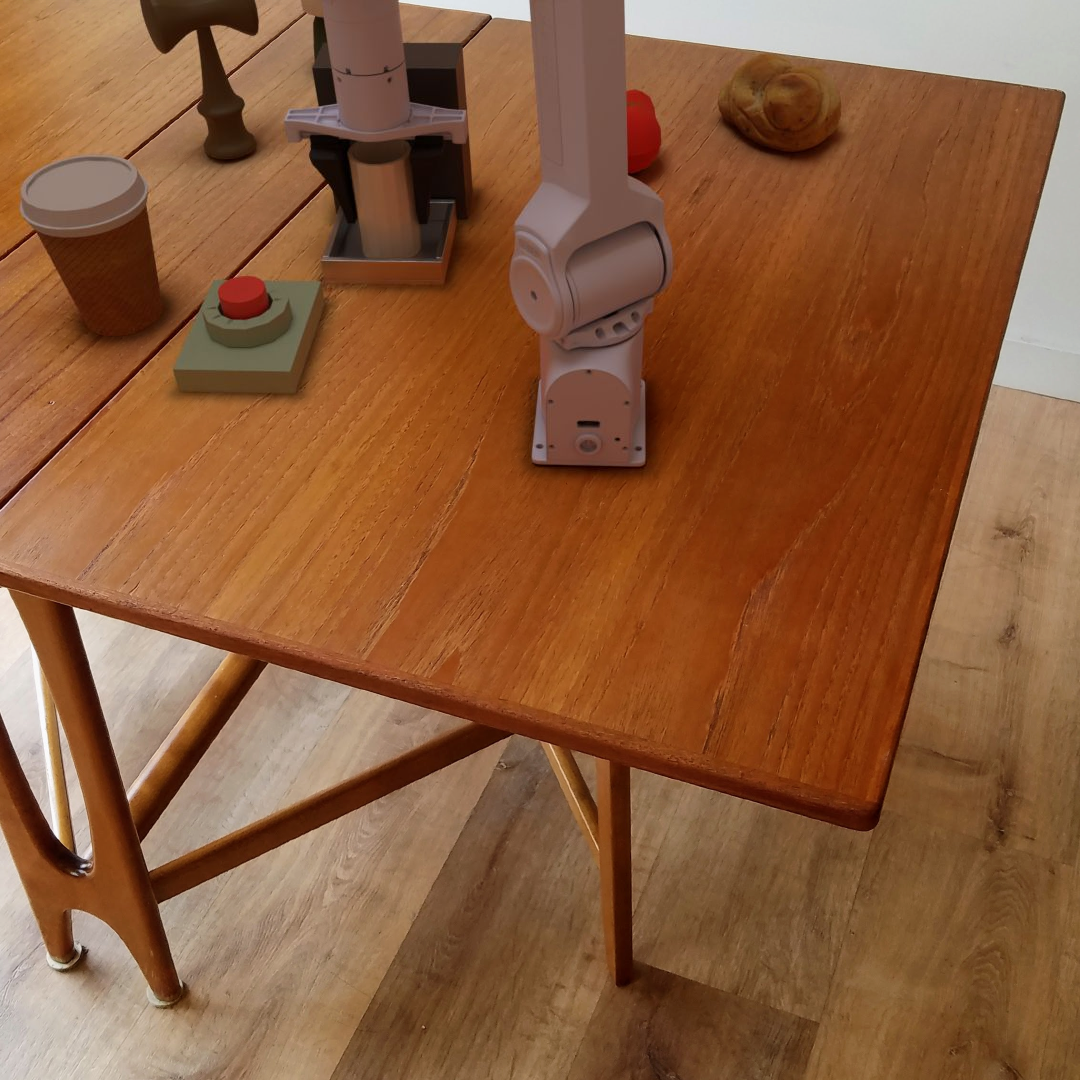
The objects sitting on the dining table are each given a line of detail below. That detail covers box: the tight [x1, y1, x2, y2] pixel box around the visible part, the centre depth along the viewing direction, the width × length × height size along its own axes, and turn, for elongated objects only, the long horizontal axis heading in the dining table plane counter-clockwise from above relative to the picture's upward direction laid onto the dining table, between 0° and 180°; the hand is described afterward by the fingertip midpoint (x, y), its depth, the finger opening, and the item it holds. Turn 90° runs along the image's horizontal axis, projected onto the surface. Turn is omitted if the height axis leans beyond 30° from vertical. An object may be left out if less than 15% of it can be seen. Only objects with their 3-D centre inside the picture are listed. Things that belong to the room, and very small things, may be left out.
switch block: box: [172, 279, 326, 395], centre depth 91 cm, size 12×9×4 cm
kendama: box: [139, 0, 260, 160], centre depth 108 cm, size 6×10×20 cm, turn 120°
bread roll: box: [717, 53, 842, 153], centre depth 112 cm, size 13×10×8 cm
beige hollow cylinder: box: [347, 139, 422, 258], centre depth 98 cm, size 5×5×9 cm
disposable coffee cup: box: [19, 153, 164, 337], centre depth 91 cm, size 10×10×12 cm
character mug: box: [300, 0, 328, 61], centre depth 123 cm, size 11×7×13 cm, turn 23°
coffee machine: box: [311, 42, 474, 221], centre depth 102 cm, size 5×12×14 cm, turn 87°
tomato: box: [626, 88, 662, 175], centre depth 109 cm, size 10×11×6 cm
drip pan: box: [320, 199, 458, 286], centre depth 100 cm, size 10×10×2 cm
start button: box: [218, 275, 269, 320], centre depth 89 cm, size 4×4×2 cm
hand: (388, 218), depth 99 cm, fingers open, 6 cm apart
